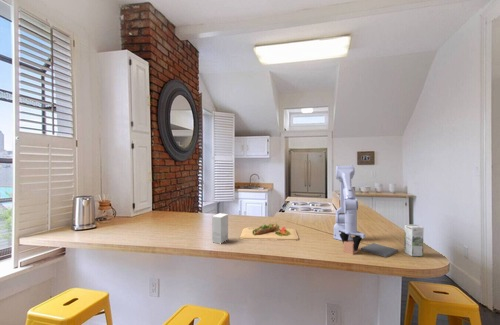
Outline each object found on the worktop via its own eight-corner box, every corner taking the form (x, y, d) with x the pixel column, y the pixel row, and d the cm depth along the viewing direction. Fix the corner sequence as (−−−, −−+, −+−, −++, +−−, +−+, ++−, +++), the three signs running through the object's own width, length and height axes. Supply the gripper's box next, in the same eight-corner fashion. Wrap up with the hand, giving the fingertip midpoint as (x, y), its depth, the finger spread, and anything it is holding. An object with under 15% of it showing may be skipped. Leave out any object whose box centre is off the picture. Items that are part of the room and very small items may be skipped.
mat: (360, 249, 131) (360, 248, 131) (373, 245, 139) (373, 243, 139) (386, 257, 121) (386, 255, 121) (398, 251, 128) (398, 249, 128)
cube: (343, 251, 129) (343, 241, 129) (349, 249, 132) (349, 239, 132) (352, 254, 125) (352, 244, 125) (358, 252, 128) (358, 242, 128)
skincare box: (219, 238, 151) (219, 213, 151) (229, 240, 148) (228, 213, 148) (211, 242, 144) (211, 215, 144) (221, 244, 141) (221, 216, 141)
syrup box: (415, 252, 127) (415, 223, 127) (423, 256, 121) (423, 226, 121) (404, 252, 127) (404, 224, 127) (412, 257, 121) (412, 226, 121)
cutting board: (295, 231, 170) (294, 220, 170) (298, 241, 147) (298, 229, 147) (243, 230, 173) (243, 219, 173) (239, 240, 150) (239, 227, 150)
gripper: (333, 220, 132) (333, 246, 132) (359, 226, 120) (360, 254, 120) (341, 219, 136) (341, 244, 136) (367, 224, 124) (367, 251, 124)
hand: (350, 249), depth 128 cm, fingers closed on cube, 5 cm apart
